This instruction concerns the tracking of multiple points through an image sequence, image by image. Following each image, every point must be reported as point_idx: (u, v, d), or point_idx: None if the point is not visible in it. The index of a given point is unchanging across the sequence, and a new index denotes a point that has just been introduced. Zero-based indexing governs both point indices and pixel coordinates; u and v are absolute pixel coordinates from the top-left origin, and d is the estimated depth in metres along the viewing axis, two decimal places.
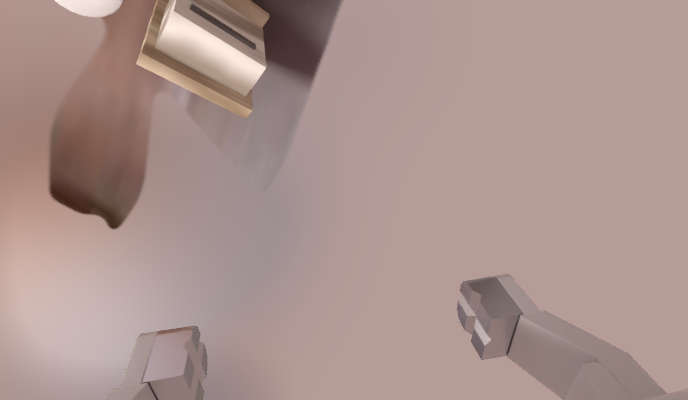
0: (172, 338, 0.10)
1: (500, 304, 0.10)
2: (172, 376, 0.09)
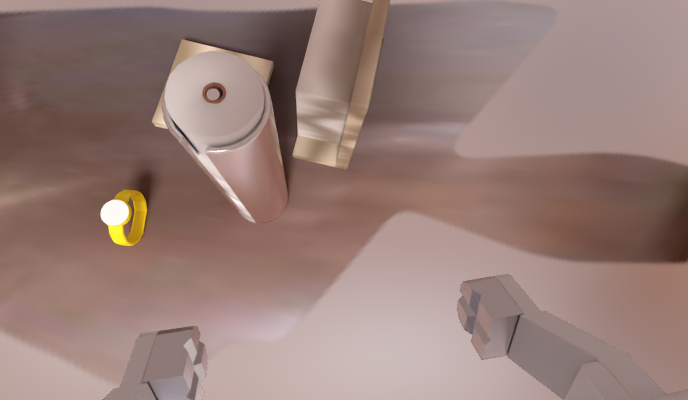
0: (172, 338, 0.10)
1: (500, 303, 0.10)
2: (172, 376, 0.09)
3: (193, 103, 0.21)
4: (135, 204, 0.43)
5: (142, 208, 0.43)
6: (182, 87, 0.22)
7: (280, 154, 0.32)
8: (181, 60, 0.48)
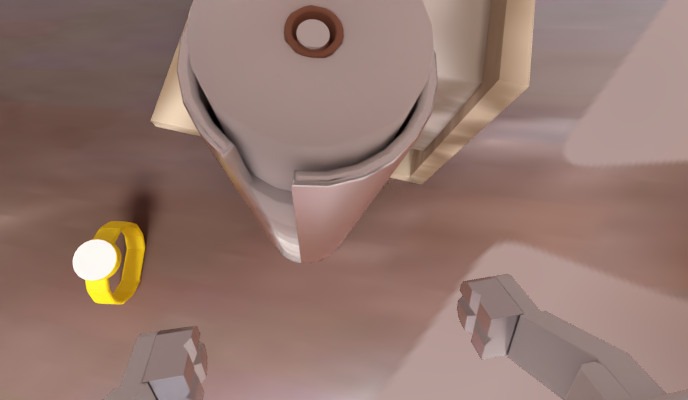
0: (172, 338, 0.10)
1: (500, 304, 0.10)
2: (172, 376, 0.09)
3: (262, 57, 0.08)
4: (128, 239, 0.30)
5: (138, 245, 0.30)
6: (232, 16, 0.08)
7: None
8: None
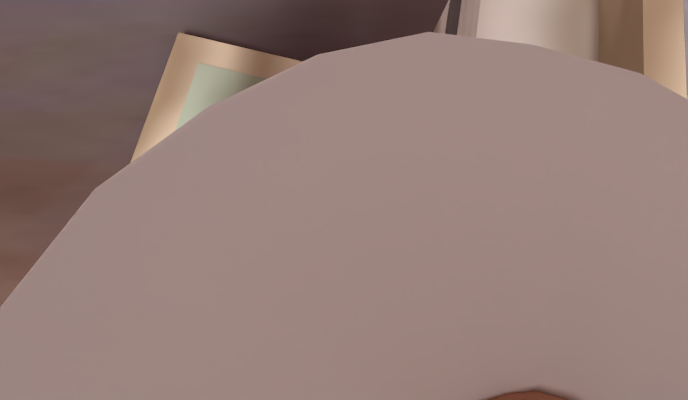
0: None
1: None
2: None
3: None
4: None
5: None
6: None
7: None
8: (177, 68, 0.28)
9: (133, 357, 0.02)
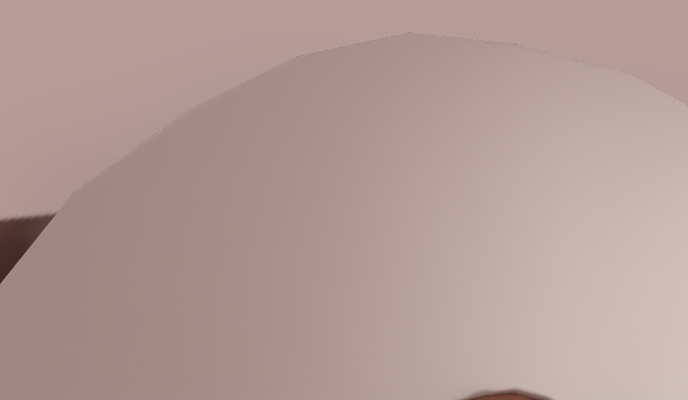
0: None
1: None
2: None
3: None
4: None
5: None
6: None
7: None
8: None
9: (110, 358, 0.02)
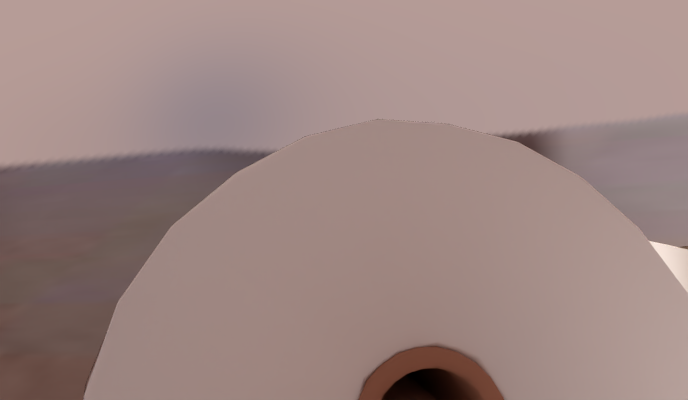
0: None
1: None
2: None
3: None
4: None
5: None
6: None
7: None
8: None
9: (198, 325, 0.03)
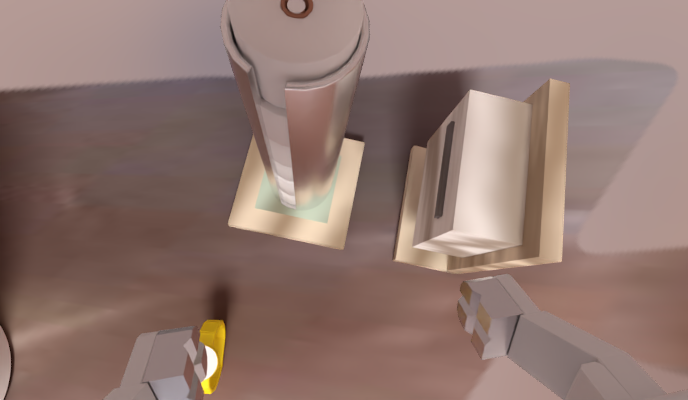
0: (172, 338, 0.10)
1: (500, 304, 0.10)
2: (172, 376, 0.09)
3: (268, 17, 0.15)
4: None
5: (220, 334, 0.36)
6: None
7: None
8: None
9: None
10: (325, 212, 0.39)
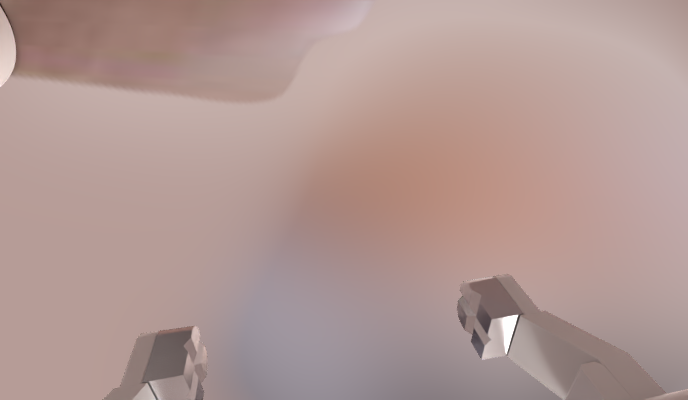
0: (172, 338, 0.10)
1: (500, 304, 0.10)
2: (172, 376, 0.09)
3: None
4: None
5: None
6: None
7: None
8: None
9: None
10: None
